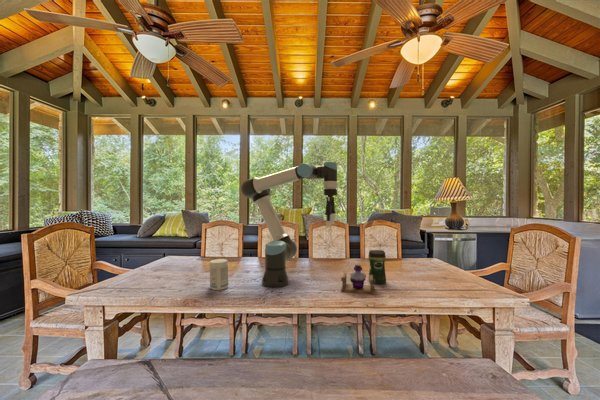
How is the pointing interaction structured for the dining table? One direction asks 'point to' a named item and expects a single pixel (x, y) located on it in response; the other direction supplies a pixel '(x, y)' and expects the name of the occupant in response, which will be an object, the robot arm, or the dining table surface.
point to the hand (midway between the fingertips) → (330, 225)
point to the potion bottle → (357, 277)
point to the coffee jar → (377, 266)
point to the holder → (349, 288)
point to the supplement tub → (218, 274)
